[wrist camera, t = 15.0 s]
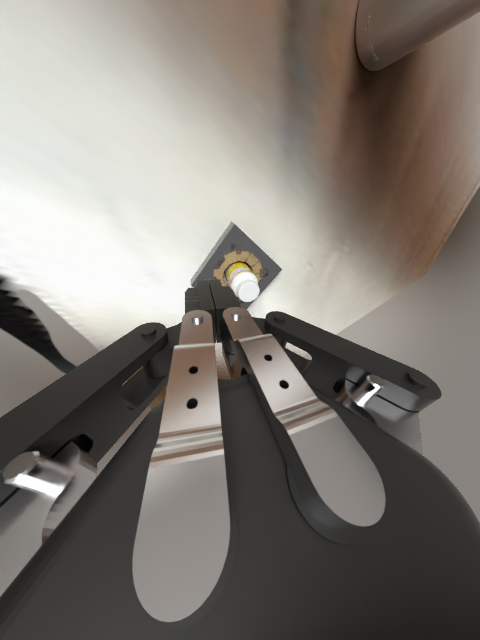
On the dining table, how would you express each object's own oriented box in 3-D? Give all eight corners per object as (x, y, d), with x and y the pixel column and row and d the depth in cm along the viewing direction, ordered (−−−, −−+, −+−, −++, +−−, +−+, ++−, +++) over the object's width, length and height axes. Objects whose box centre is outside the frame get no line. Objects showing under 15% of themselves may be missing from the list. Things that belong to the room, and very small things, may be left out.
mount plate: (231, 221, 32) (234, 223, 30) (277, 265, 39) (282, 269, 37) (190, 280, 36) (191, 285, 34) (239, 308, 44) (241, 314, 42)
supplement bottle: (224, 260, 36) (234, 279, 28) (248, 258, 37) (264, 276, 29) (225, 284, 39) (234, 306, 32) (247, 282, 40) (261, 303, 33)
